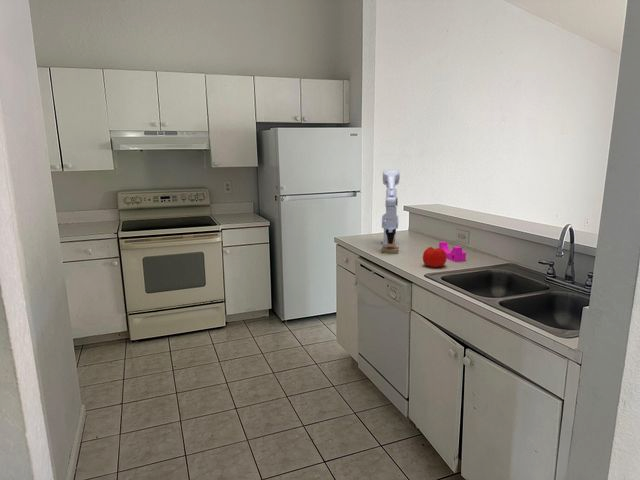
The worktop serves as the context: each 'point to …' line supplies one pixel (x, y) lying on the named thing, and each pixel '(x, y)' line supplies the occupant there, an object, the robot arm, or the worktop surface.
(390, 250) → the walnut block
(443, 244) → the toy block
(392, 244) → the terracotta block
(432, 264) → the tomato
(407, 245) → the worktop surface
